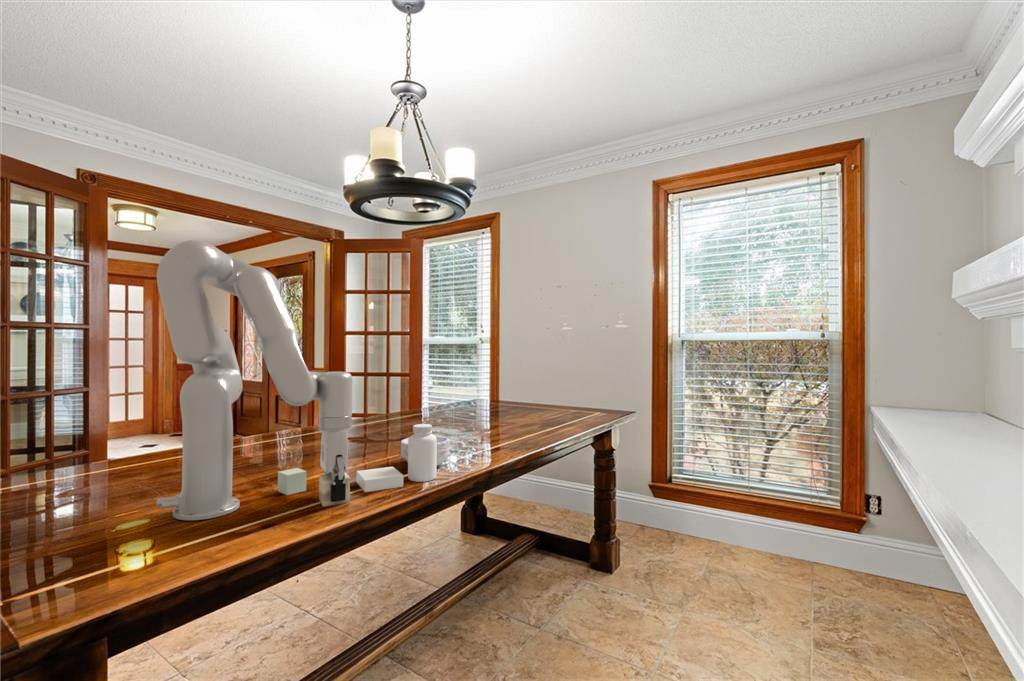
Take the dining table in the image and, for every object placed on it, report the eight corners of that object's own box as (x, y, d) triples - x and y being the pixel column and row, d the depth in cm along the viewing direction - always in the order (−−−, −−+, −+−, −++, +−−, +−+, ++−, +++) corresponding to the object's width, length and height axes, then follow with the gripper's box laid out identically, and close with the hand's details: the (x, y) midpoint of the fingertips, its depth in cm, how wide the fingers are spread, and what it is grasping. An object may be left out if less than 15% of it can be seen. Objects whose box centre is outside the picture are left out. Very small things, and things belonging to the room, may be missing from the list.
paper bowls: (407, 458, 157) (407, 434, 157) (453, 459, 156) (453, 435, 156) (394, 470, 142) (394, 443, 142) (444, 471, 141) (445, 445, 141)
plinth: (365, 492, 121) (365, 480, 121) (356, 481, 129) (356, 470, 129) (403, 486, 126) (403, 475, 126) (392, 477, 135) (392, 466, 135)
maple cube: (322, 507, 110) (323, 481, 110) (318, 499, 115) (319, 474, 115) (349, 502, 113) (350, 477, 113) (344, 495, 118) (344, 471, 118)
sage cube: (286, 495, 118) (287, 475, 118) (277, 491, 121) (277, 471, 121) (306, 490, 122) (306, 471, 122) (296, 486, 125) (297, 467, 125)
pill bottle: (401, 479, 132) (402, 426, 132) (420, 473, 139) (420, 421, 139) (424, 484, 128) (425, 428, 128) (442, 476, 135) (442, 424, 136)
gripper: (313, 418, 120) (312, 488, 120) (324, 430, 105) (324, 509, 105) (344, 416, 124) (343, 483, 124) (359, 427, 109) (358, 503, 109)
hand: (334, 495), depth 114 cm, fingers open, 8 cm apart
